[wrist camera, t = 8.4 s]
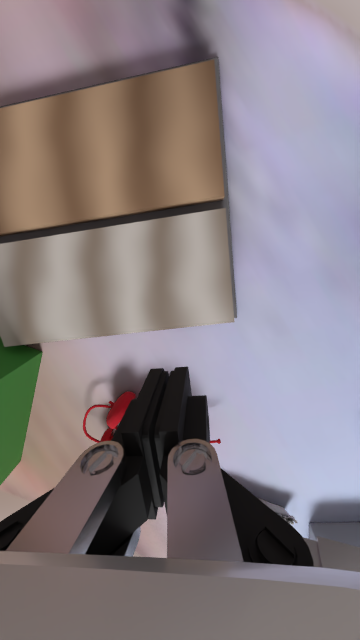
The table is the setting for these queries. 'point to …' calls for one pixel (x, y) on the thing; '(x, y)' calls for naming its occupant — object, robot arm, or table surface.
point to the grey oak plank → (117, 280)
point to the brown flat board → (154, 214)
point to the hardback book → (15, 401)
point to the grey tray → (336, 532)
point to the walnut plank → (111, 151)
